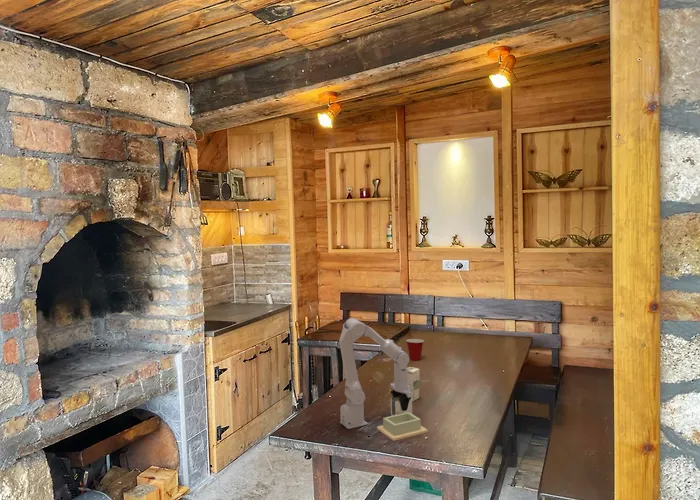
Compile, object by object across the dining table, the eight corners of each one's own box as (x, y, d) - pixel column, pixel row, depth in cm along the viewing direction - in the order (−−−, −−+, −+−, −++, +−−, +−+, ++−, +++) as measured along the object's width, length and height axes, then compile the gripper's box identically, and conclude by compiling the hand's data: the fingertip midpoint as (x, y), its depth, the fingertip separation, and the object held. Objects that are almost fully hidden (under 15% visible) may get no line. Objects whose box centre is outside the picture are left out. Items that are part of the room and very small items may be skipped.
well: (393, 441, 202) (393, 428, 201) (376, 429, 213) (376, 417, 213) (427, 432, 209) (427, 420, 208) (409, 421, 220) (409, 409, 220)
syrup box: (409, 396, 250) (409, 366, 249) (420, 398, 247) (419, 368, 245) (403, 399, 246) (402, 369, 245) (413, 402, 242) (413, 371, 241)
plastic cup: (427, 358, 314) (426, 338, 313) (421, 362, 304) (420, 342, 303) (410, 356, 319) (409, 337, 318) (403, 361, 309) (403, 341, 308)
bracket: (396, 419, 222) (396, 401, 222) (391, 415, 226) (390, 397, 226) (412, 415, 226) (411, 397, 225) (406, 412, 230) (406, 394, 229)
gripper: (418, 380, 220) (418, 412, 221) (399, 372, 233) (400, 401, 234) (403, 383, 217) (404, 415, 218) (386, 374, 230) (386, 404, 231)
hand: (401, 408), depth 226 cm, fingers closed on bracket, 4 cm apart
